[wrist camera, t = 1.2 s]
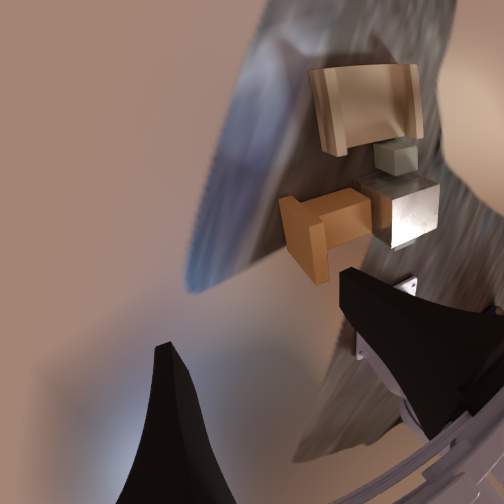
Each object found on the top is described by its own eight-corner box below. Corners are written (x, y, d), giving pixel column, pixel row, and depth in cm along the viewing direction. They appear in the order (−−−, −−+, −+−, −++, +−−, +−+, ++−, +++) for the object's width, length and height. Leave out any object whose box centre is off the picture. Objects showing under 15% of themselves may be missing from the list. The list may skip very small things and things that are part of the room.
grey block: (399, 205, 26) (436, 227, 22) (355, 220, 25) (391, 247, 21) (398, 166, 24) (439, 184, 20) (352, 178, 23) (392, 200, 19)
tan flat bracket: (405, 132, 23) (423, 137, 21) (321, 150, 21) (337, 157, 20) (398, 63, 19) (416, 64, 18) (307, 70, 18) (323, 69, 16)
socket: (397, 230, 27) (415, 242, 25) (377, 238, 27) (394, 251, 25) (395, 139, 23) (417, 145, 20) (373, 143, 22) (394, 150, 20)
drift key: (352, 227, 25) (388, 255, 21) (287, 250, 24) (316, 285, 20) (349, 177, 23) (389, 199, 19) (278, 199, 22) (308, 227, 18)
